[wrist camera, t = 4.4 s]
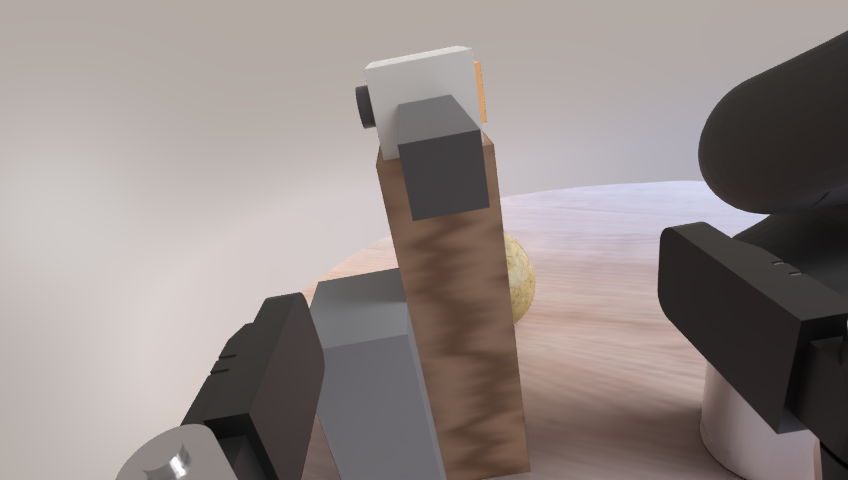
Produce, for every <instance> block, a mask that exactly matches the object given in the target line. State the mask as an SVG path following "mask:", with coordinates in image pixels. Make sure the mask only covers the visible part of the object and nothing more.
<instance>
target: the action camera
mask: <svg viewBox="0 0 848 480" xmlns="http://www.w3.org/2000/svg"><path fill="white" fill-rule="evenodd" d="M364 72H365V77H366V82H367V85H366V86H360V87H356V99H357V105H358V109H359V114H360V117H361V121H362V124H363V127H364V128H365V129H366V128H371V127H376V128H377V132H378V137H379V141H380V146H381V151H382V155H383V160H390V159H395V158H400V160H401V165H402V170H403V175H404V180H405V185H406V190H407V195H408V200H409V205H410V210H411V215H412V220H413V221H418V220H424V219H429V218H435V217H440V216H446V215H451V214H457V213H462V212H468V211H473V210H479V209H484V208H490V203H489V195H488V187H487V179H486V171H485V162H484V154H483V146H482V142H484V140H483V131H482V123H484V122H487V118H486V109H485V101H484V92H483V84H482V75H481V66H480V62H478V61H475V60H474V56H473V49H472V48H467V47H462V46H454V47H449V48H443V49H439V50H433V51H428V52H423V53H418V54H412V55H408V56H402V57H397V58H392V59H386V60H381V61H377V62H371V63H370V64H369V65H368V66H367V67H366V68H365V69H364Z"/></svg>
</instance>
